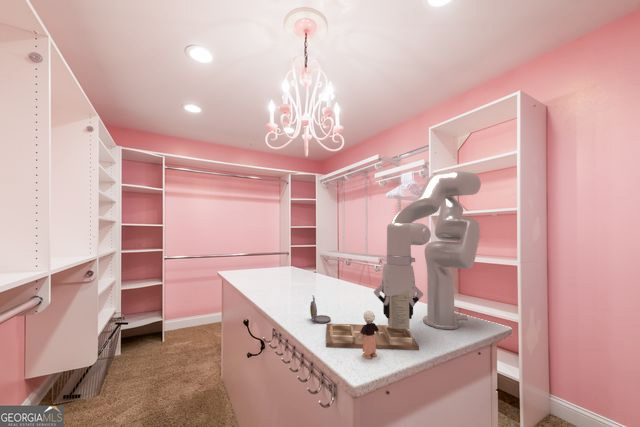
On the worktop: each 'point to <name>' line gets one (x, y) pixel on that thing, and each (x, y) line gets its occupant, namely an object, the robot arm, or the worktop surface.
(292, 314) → the worktop surface
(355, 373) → the worktop surface
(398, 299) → the skincare box
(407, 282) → the robot arm
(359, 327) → the board
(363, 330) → the grandmother figurine
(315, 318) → the pocket watch
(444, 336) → the worktop surface
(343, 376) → the worktop surface
